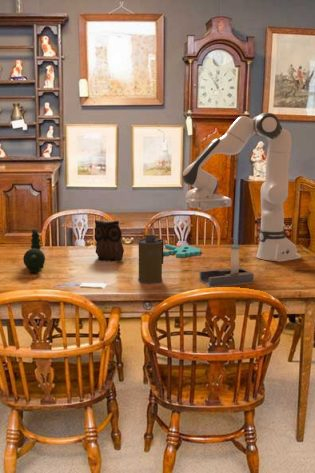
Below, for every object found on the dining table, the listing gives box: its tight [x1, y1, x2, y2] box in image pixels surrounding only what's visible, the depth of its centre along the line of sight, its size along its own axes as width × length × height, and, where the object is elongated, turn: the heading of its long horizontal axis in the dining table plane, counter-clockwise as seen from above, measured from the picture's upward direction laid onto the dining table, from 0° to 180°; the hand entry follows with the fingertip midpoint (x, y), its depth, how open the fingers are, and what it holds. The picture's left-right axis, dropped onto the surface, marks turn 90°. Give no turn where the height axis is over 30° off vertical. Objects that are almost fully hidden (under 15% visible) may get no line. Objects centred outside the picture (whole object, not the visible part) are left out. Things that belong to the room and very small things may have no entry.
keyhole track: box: [198, 266, 255, 288], centre depth 217 cm, size 20×12×4 cm, turn 109°
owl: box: [94, 219, 125, 263], centre depth 251 cm, size 13×13×20 cm
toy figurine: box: [22, 228, 46, 275], centre depth 233 cm, size 9×19×25 cm
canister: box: [137, 233, 164, 284], centre depth 217 cm, size 11×10×20 cm
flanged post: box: [229, 244, 241, 274], centre depth 217 cm, size 6×6×15 cm
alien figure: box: [163, 243, 202, 258], centre depth 268 cm, size 20×2×20 cm
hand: (217, 205), depth 230 cm, fingers open, 8 cm apart
